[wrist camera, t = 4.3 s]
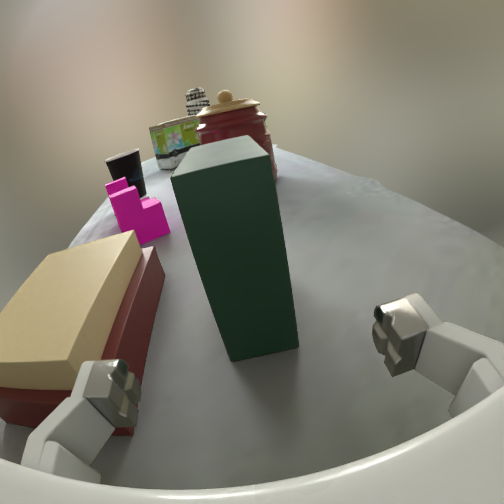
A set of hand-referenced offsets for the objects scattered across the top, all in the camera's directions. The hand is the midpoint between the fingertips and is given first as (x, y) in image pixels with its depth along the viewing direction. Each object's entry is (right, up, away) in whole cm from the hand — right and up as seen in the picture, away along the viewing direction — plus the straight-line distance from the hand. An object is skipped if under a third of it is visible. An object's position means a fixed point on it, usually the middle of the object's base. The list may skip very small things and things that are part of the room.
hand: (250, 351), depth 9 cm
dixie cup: (-25, +13, +51) cm, 58 cm away
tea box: (-22, +32, +83) cm, 92 cm away
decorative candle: (-17, +44, +103) cm, 113 cm away
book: (0, -1, +14) cm, 14 cm away
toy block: (-18, +7, +36) cm, 40 cm away
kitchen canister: (-1, +15, +45) cm, 47 cm away
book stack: (-14, -5, +13) cm, 20 cm away
